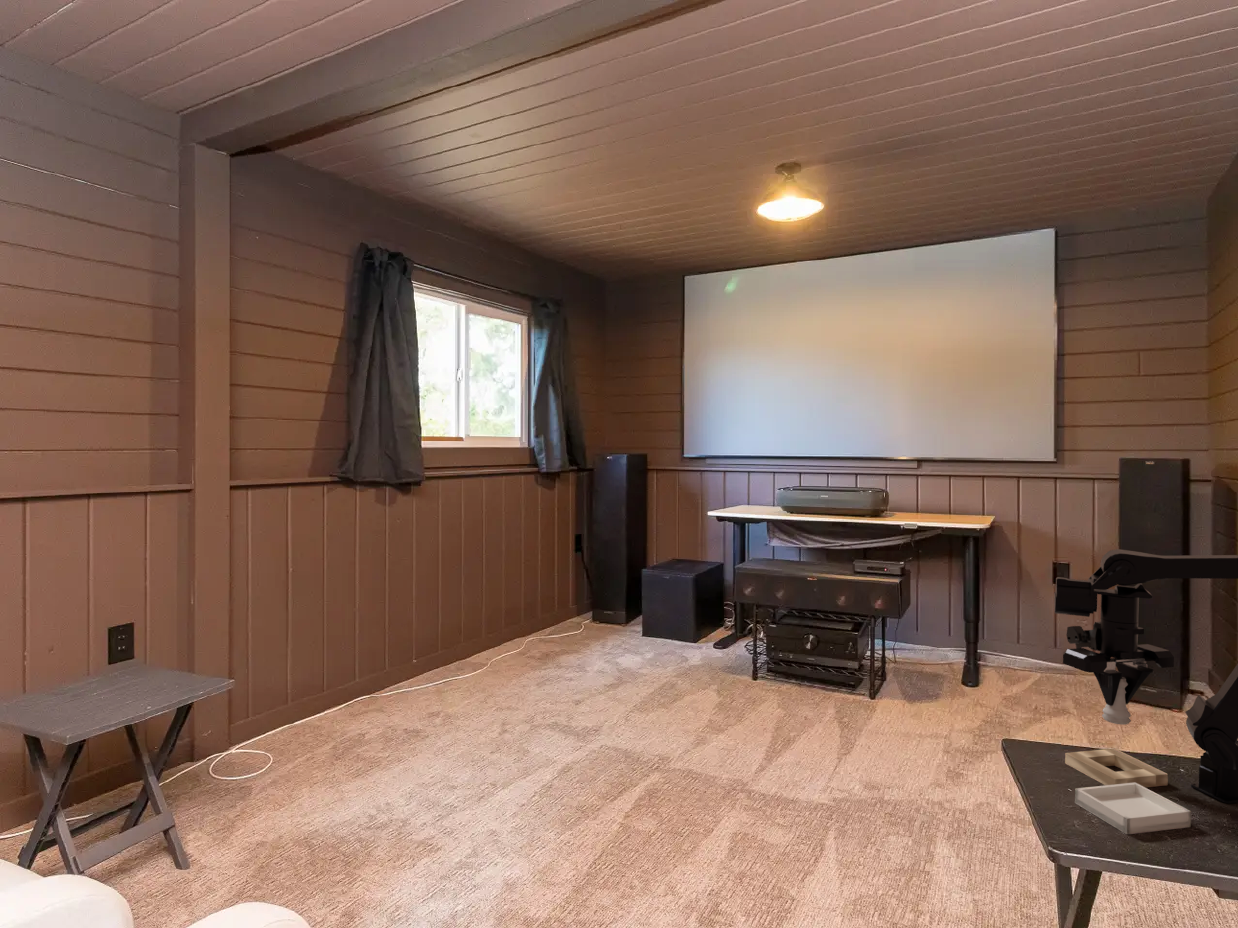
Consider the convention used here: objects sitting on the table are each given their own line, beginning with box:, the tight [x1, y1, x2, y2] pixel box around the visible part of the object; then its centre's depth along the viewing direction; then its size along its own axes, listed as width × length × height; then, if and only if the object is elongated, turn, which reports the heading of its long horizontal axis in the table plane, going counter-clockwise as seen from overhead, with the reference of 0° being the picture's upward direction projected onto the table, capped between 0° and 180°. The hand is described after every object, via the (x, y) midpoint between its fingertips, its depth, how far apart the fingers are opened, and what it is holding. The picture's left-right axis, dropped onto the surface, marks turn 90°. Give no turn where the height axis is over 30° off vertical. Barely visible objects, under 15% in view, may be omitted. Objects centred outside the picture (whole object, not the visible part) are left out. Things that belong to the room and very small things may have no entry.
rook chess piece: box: [1101, 677, 1132, 726], centre depth 134 cm, size 4×4×8 cm
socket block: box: [1064, 748, 1169, 788], centre depth 135 cm, size 11×11×2 cm
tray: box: [1074, 782, 1192, 835], centre depth 120 cm, size 12×10×2 cm
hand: (1116, 704), depth 135 cm, fingers closed on rook chess piece, 3 cm apart
